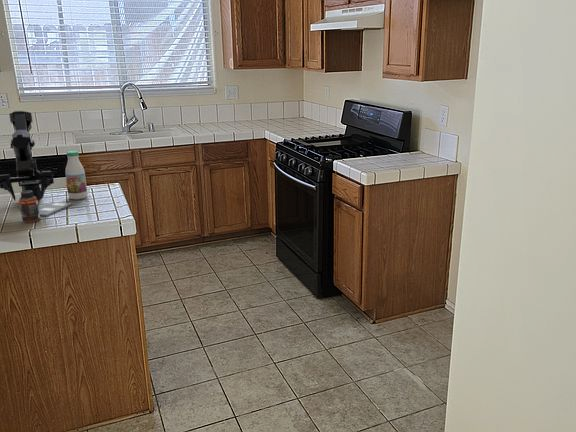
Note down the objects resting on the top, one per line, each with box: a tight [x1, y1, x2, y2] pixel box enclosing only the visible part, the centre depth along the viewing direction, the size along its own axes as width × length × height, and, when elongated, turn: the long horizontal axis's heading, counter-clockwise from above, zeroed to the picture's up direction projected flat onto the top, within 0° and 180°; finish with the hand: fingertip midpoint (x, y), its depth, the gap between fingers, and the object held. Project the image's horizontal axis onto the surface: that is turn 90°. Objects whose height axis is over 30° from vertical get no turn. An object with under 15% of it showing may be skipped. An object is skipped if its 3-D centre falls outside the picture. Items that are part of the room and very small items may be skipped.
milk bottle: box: [64, 150, 88, 200], centre depth 217 cm, size 8×8×20 cm
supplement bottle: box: [18, 190, 41, 224], centre depth 187 cm, size 6×6×11 cm
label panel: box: [38, 201, 73, 218], centre depth 202 cm, size 10×16×1 cm, turn 167°
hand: (28, 198), depth 191 cm, fingers open, 9 cm apart
